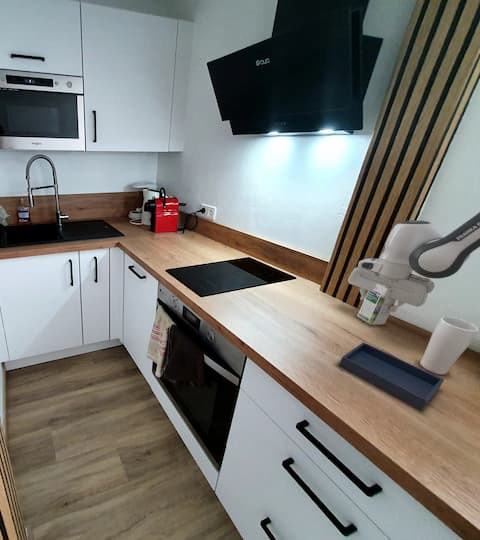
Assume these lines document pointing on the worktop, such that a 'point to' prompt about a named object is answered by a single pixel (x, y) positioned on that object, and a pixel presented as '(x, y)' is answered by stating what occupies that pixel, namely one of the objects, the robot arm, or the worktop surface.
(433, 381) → the tray
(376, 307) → the syrup box
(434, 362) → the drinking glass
